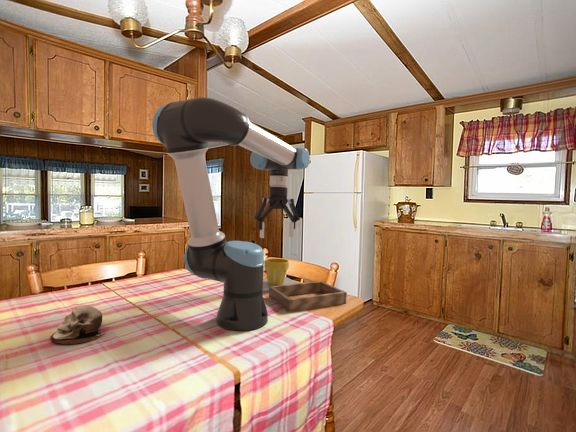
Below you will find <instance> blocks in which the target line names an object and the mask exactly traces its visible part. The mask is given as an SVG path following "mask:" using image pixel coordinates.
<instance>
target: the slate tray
mask: <svg viewBox="0 0 576 432" xmlns="http://www.w3.org/2000/svg"><path fill="white" fill-rule="evenodd" d="M289 284H298V282H296V280H293V279H291V278H290V277H287V276H285V279H284V283H283V284H281V285H289ZM271 286H280V285H271V284H269V283H268V280H267V278H263V294H269V287H271Z"/></svg>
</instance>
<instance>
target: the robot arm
mask: <svg viewBox="0 0 576 432" xmlns="http://www.w3.org/2000/svg"><path fill="white" fill-rule="evenodd" d="M151 123H152V132H153V134H154V138H156V140H157V141H159V142H160V144H162V145H164V146H165V150H166V154H167V155H168V156H169V157H171V158H172V159H173V160H174V164H175V170H176V174H177V178H178V183H179V188H180V191H181V195H182V201H183V205H184V209H185V214H186V218H187V223H188V226H189V227H188V228H189V233H190V237H189V239H188V240H187V246H186V248H185V252H184V254H183V261H184V266H185V268H186V269H187V271H188V272H189V273H190V274H191V275H193V276H195V277H196V276H197V277H198V278H200V279H204V280H205V279H207V280H212V281H214V282H215V281H216V282H220V283H223V296H222V299H221V301H220V304H219V308H218V309H217V313H216V324H217V325H218V326H220V327H221V328H223V329H226V330H230V331H239V332H240V331H241V332H242V331H243V332H244V331H252V330H256V329H259V328H261V327H264V326H265V325H266V324H267V323H268V319H269V318H268V317H269V313H268V309H267V305H266V302H265V299H264V295H263V294H264V293H263V279H264V269H265V268H264V262H265V256H264V250H263V248H262V246H260V245H259V244H257V243H255V242H250V241H242V240H230V241H227V239H226V235H225V233H224V232H222V231H220V228H219V223H218V217H217V213H216V209H215V203H214V197H213V192H212V187H211V182H210V177H209V173H208V167H207V162H206V156H205V155H206V153H207V151H208V150H209V143H223V144H227V145H228V146H232V147H236V146H240V147H242V148H244V149H246V150H248V151H251V152H252V153H250V158H249V159H250V161H249V162H250V164H251V166H252V167H253V168H255V169H257V170H260V171H269V186H270V187H269V189H268V190H269V194H268V196H269V197H268V198H267V197H262V198H261V203H260V205H259V206H258V209H257V211H256V212H255V215H254V217H253V220H254V221H257V222H258V223H257V229H258V230H259V238H261V239H265V222H264V220H265V219H266V218H267V217H268V215H269V214H270V213H271V212H272V211H273V210H278V209H279V210H283V211H284V213H285V214H286V215H287V217H288V218H289V220H290V221H289V224H288V225H289V226H288V237H289V238H294V230H296V223H297V222H298V221H300V220H301V219H300V214H299V213H298V211H297V207H296V205H295V200H294V198H288V190H289V189H288V186H289V184H288V182H289V180H288V179H289V170H297V171H299V170H304V169H307V168H308V167H309V164H310V160H311V157H310V152H309V150H308V149H307V148H306V147H298V148H297V147H293V146H292V145H290V144H288V143H287V142H285V141H283V139H281V138H279V137H278V136H277V137H276V135H273V134H272V133H270V132H269V131H267V130H265V129H263V128H262V127H260V126H258V125H257V124H255V123H253V122H252V121H250V118H249V117H248V115H246V113H244V112H242V111H241V110H239V109H237V108H236V107H233V106H231V105H229V104H227V103H225V102H223V101H220V100H217V99H215V98H211V97H205V96H199V97H193V98H189V99H183V100H177V101H172V102H171V101H170V102H169V103H166V104H164V105H162V106H160V107H159V108H158V109H157V110H156V111H155V113H154V115H153V117H152V122H151ZM268 203H269V205H268V206H267V208H266V205H267V204H268ZM287 204H288V205H289V207H288V206H287ZM265 208H266V209H265ZM289 208H290V209H289ZM264 209H265V210H264Z"/></svg>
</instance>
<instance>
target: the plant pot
mask: <svg viewBox="0 0 576 432" xmlns="http://www.w3.org/2000/svg"><path fill="white" fill-rule="evenodd" d="M289 266H290V261H289V259H286V258H278V257H270V258H266V259H265V258H264V269H265V271H266V279H267V280H268V283H269V284H271V285H281V284H283V283H284V279H285V277H286V275H287V271H288V270H289V268H290V267H289Z"/></svg>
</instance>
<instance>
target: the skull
mask: <svg viewBox="0 0 576 432" xmlns="http://www.w3.org/2000/svg"><path fill="white" fill-rule="evenodd" d="M102 323H103V314H102V311H101V310H99V309H98V308H96V307H94V306H92V305H89V304H82V305H78V306H76V307H74V308H73V309H71V313H70V314H67V315H66V316H65V317H64V319H63V320H62V322H61V323H60V324H59V325H58V326H57V329H56V331H55V332H53V333H52V334H51V336H50V341H51V342H52V343H56V344H62V345H63V344H64V345H66V344H68V345H72V344H74V345H75V344H77V345H79V344H81V343H88V342H92V341H95V340H97V339H99V338H101V337H103V336H104V335H105V333H103V334H102V332H99V329H100V328H101V326H102Z"/></svg>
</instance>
